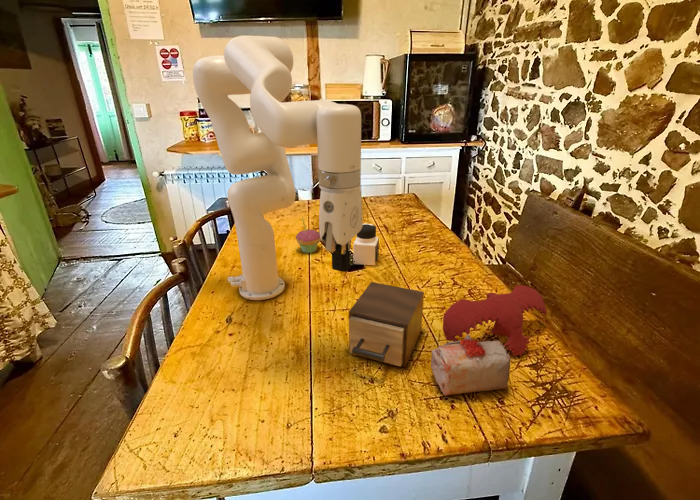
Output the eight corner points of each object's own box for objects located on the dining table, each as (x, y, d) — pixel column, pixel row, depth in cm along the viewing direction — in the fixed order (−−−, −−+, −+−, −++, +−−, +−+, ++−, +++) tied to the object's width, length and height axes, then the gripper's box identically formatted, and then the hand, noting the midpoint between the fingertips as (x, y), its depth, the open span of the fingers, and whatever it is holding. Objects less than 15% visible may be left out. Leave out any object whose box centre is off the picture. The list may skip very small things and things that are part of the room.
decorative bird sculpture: (549, 344, 95) (525, 284, 99) (580, 339, 86) (552, 274, 90) (449, 376, 85) (428, 309, 89) (473, 374, 77) (447, 300, 81)
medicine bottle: (375, 266, 124) (376, 230, 119) (353, 264, 125) (352, 229, 120) (378, 256, 130) (379, 222, 125) (357, 254, 132) (357, 221, 127)
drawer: (394, 381, 77) (396, 345, 73) (341, 366, 81) (340, 331, 77) (416, 332, 91) (418, 299, 87) (370, 321, 95) (370, 290, 92)
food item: (440, 401, 73) (445, 359, 69) (427, 372, 80) (430, 332, 76) (510, 394, 75) (518, 352, 71) (491, 365, 82) (498, 326, 78)
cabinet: (405, 367, 82) (407, 324, 77) (349, 352, 86) (348, 311, 82) (421, 330, 93) (424, 291, 89) (371, 319, 98) (371, 281, 93)
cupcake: (292, 252, 134) (289, 219, 129) (304, 243, 141) (302, 211, 136) (315, 256, 131) (313, 222, 126) (326, 246, 138) (324, 214, 133)
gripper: (341, 192, 63) (342, 291, 71) (374, 170, 75) (372, 257, 83) (300, 186, 66) (306, 282, 73) (338, 167, 78) (339, 251, 86)
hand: (341, 268), depth 78 cm, fingers closed
